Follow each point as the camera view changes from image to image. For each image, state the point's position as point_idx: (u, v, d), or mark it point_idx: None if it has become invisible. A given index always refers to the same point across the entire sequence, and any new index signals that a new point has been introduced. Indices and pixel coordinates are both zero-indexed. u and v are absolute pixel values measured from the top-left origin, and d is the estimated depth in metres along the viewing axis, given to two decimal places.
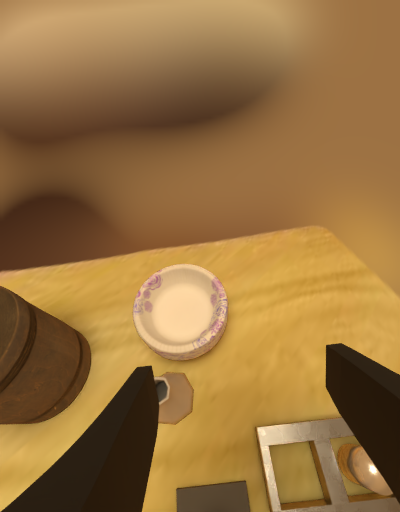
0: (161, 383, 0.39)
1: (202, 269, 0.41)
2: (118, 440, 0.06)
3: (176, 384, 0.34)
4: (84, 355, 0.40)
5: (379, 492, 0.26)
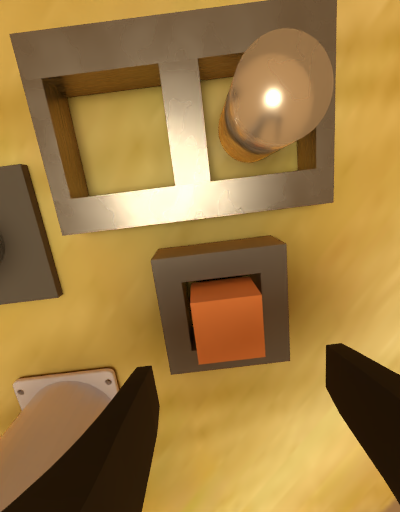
0: None
1: None
2: (118, 440, 0.06)
3: None
4: None
5: (267, 138, 0.10)
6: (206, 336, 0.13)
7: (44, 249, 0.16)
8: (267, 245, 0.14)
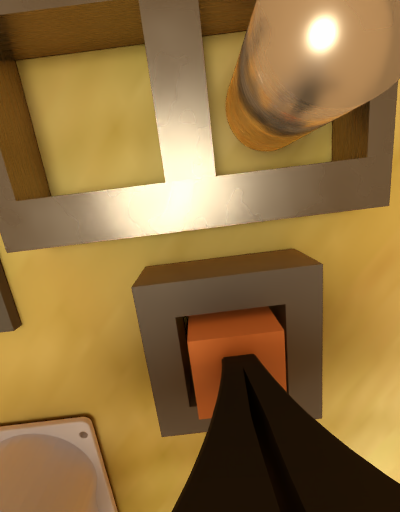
0: None
1: None
2: (252, 425, 0.06)
3: None
4: None
5: (315, 98, 0.06)
6: (208, 384, 0.10)
7: None
8: (295, 266, 0.10)
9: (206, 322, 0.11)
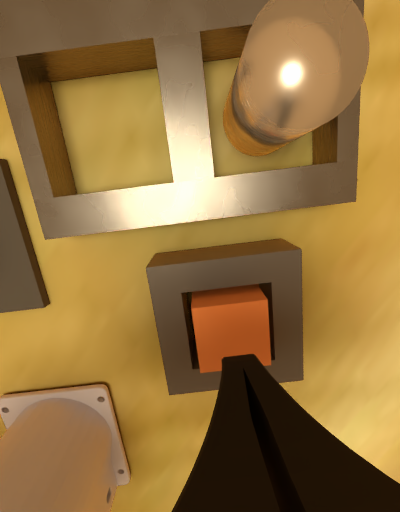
0: None
1: None
2: (252, 425, 0.06)
3: None
4: None
5: (285, 122, 0.08)
6: (208, 343, 0.12)
7: (27, 254, 0.15)
8: (279, 250, 0.12)
9: (206, 295, 0.13)
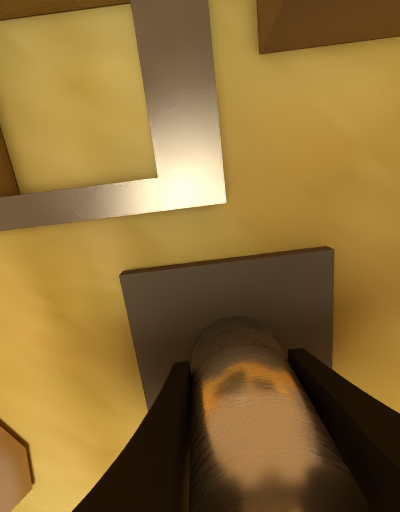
0: None
1: None
2: (176, 433, 0.06)
3: None
4: None
5: None
6: None
7: (249, 260, 0.10)
8: None
9: None
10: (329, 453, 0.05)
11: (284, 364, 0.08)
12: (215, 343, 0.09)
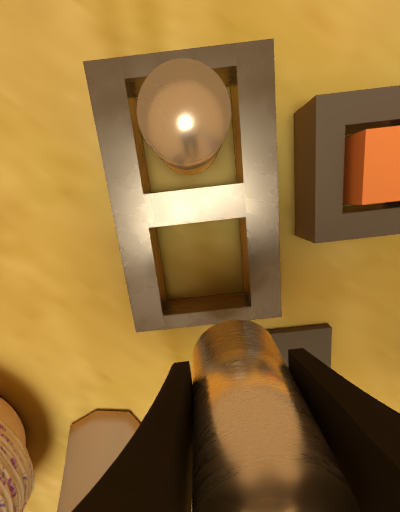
0: None
1: None
2: (176, 433, 0.06)
3: (68, 490, 0.17)
4: None
5: (225, 127, 0.10)
6: None
7: (286, 332, 0.19)
8: (314, 118, 0.13)
9: (348, 190, 0.14)
10: (320, 456, 0.06)
11: (280, 367, 0.09)
12: (213, 348, 0.10)
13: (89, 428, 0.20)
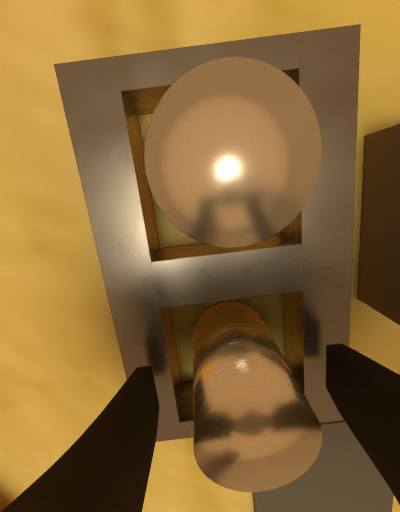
0: None
1: None
2: (118, 440, 0.06)
3: None
4: None
5: (309, 184, 0.06)
6: None
7: (341, 422, 0.14)
8: None
9: None
10: (290, 387, 0.07)
11: (265, 335, 0.10)
12: (210, 323, 0.11)
13: None
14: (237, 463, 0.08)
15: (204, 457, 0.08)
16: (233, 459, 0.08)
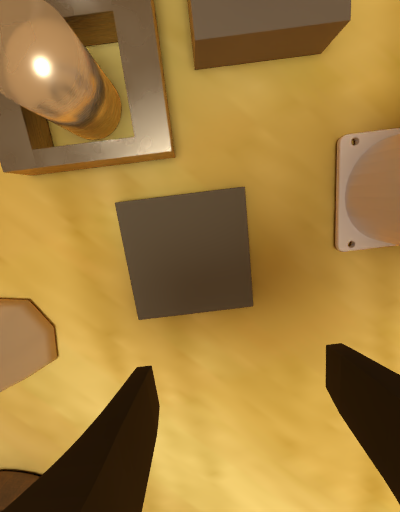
0: None
1: None
2: (118, 440, 0.06)
3: None
4: None
5: None
6: None
7: (193, 193, 0.17)
8: None
9: None
10: (54, 11, 0.10)
11: None
12: None
13: None
14: (15, 72, 0.10)
15: None
16: (11, 67, 0.10)
